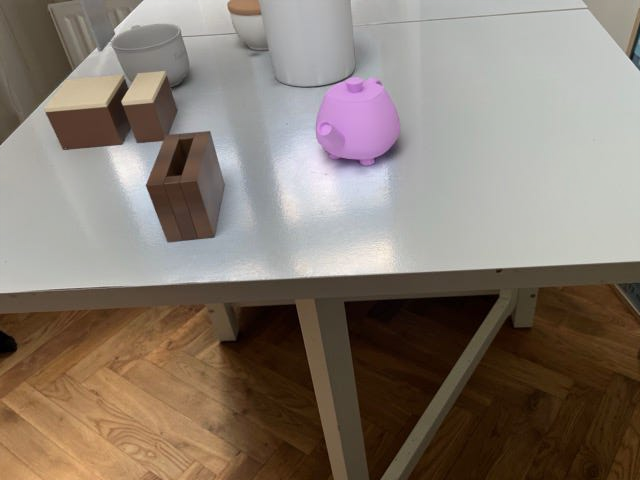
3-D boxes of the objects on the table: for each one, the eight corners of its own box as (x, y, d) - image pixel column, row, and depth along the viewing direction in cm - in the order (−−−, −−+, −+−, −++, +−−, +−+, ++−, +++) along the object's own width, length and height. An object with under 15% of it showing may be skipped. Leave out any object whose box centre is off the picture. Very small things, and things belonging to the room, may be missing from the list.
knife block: (214, 237, 59) (196, 180, 55) (167, 242, 59) (145, 185, 54) (224, 184, 67) (210, 130, 63) (183, 188, 67) (165, 134, 62)
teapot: (416, 135, 75) (416, 65, 69) (365, 190, 65) (359, 114, 59) (349, 123, 78) (343, 55, 72) (291, 173, 69) (278, 100, 62)
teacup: (198, 89, 90) (184, 37, 85) (128, 102, 88) (110, 49, 82) (188, 61, 100) (174, 14, 95) (125, 72, 97) (108, 24, 92)
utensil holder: (254, 85, 90) (229, -36, 79) (292, 53, 101) (275, -58, 89) (338, 92, 87) (326, -34, 75) (368, 58, 97) (361, -57, 85)
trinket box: (242, 58, 100) (230, 2, 94) (231, 41, 108) (220, -13, 101) (299, 48, 103) (291, -8, 96) (285, 32, 110) (277, -21, 104)
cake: (62, 149, 76) (43, 108, 72) (83, 118, 84) (67, 79, 80) (121, 144, 77) (105, 102, 73) (137, 113, 84) (123, 74, 80)
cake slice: (136, 143, 77) (121, 101, 73) (151, 112, 84) (137, 73, 80) (165, 140, 77) (151, 98, 73) (177, 110, 84) (165, 70, 80)
